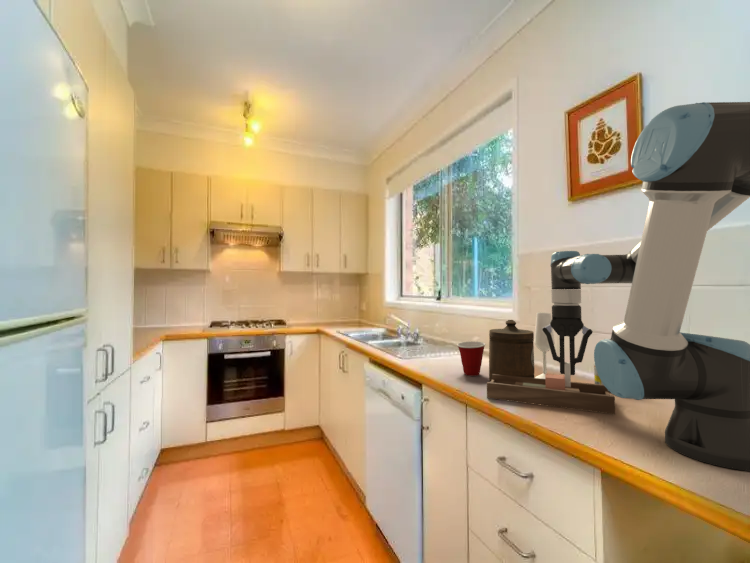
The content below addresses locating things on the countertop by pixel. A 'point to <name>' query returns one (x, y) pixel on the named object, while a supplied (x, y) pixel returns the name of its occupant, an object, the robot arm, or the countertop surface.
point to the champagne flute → (542, 337)
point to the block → (555, 381)
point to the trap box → (551, 393)
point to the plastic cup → (471, 357)
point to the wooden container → (511, 351)
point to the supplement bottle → (597, 377)
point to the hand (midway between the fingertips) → (567, 385)
